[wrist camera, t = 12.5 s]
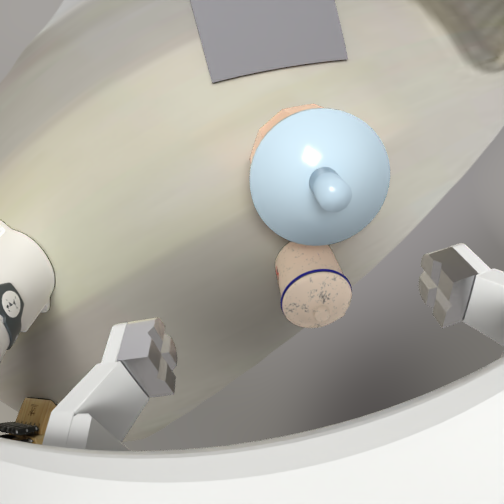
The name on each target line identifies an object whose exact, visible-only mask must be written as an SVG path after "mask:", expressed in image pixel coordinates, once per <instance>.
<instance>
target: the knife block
mask: <svg viewBox="0 0 504 504" xmlns="http://www.w3.org/2000/svg"><path fill="white" fill-rule="evenodd" d="M55 407H56V405H55V404H54V402H53V401H51V400H42V399H33V398H25V399H24V401H23V404H22V406H21V408H20V411H19V414H18V417H17V419H16V421H15V422H7V423H0V431H1V432H6V433H9V434H5V435H0V438H5V439H10V440H16V441H21V442H27V443H33V444H40V445H42V443H43V439H44V436H45V432H46V428H47V425H48V422H49V418H50V415H51V412H52V411H53V409H54V408H55Z"/></svg>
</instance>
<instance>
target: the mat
mask: <svg viewBox="0 0 504 504" xmlns="http://www.w3.org/2000/svg"><path fill="white" fill-rule="evenodd" d="M190 1H191V5H192V9H193V13H194V16H195V20H196V24H197V27H198V31H199V35H200V39H201V42H202V46H203V50H204V54H205V57H206V61H207V65H208V69H209V72H210V76H211V80H212V83H214V82H217V81H221V80H225V79H230V78H234V77H238V76H243V75H247V74H252V73H257V72H262V71H267V70H272V69H278V68H283V67H289V66H296V65H302V64H309V63H317V62H325V61H334V60H344V59H348V57H347V52H346V47H345V43H344V38H343V34H342V29H341V25H340V21H339V17H338V13H337V9H336V5H335V1H334V0H190Z"/></svg>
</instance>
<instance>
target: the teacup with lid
mask: <svg viewBox="0 0 504 504" xmlns="http://www.w3.org/2000/svg"><path fill="white" fill-rule="evenodd" d="M275 270H276V275H277V280H278V285H279V290H280V294H281V309H282V312H283V314H284V315H285V316H286V318H287V319H288V320H289V321H290V322H292V323H293V324H295V325H297V326H300V327H304V328H318V327H322V326H326V325H328V324H331V323H332V322H334V321H336V320H337V319H339V318H341V317H343V316H344V315H345V312H346V310H347V308H348V307H349V305H350V302H351V298H352V288H351V285H350V282H349V281H348V279H347V278H346V277H345V276H344V274H343V272H342V270H341V268H340V266H339V264H338V262H337V260H336V258H335V256H334V254H333V252H332V250H331V248H330V247H329V246H328V245H321V246H310V245H303V244H298V243H295V242H290V243H288V244H287V245H286V246H284V247H283V248H282V250H281V251H280V252H279V254H278V256H277V258H276V262H275Z"/></svg>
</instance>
